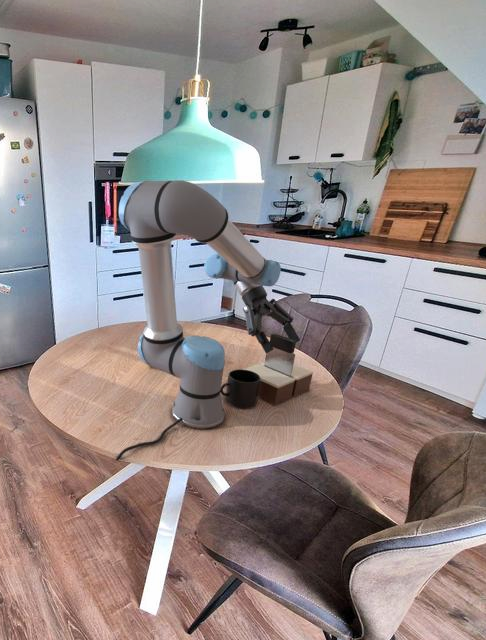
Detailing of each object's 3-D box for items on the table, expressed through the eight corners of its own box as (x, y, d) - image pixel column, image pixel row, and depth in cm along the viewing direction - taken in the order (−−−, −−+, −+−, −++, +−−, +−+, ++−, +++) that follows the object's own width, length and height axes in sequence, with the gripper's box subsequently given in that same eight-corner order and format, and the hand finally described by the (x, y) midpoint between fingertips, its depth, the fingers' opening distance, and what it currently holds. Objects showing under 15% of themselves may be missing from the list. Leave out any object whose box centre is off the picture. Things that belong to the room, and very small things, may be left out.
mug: (213, 395, 126) (215, 370, 123) (247, 392, 128) (251, 368, 124) (224, 410, 118) (228, 384, 114) (261, 407, 119) (266, 381, 116)
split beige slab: (274, 405, 121) (278, 386, 118) (239, 387, 131) (241, 369, 129) (309, 390, 129) (313, 371, 126) (273, 374, 140) (276, 357, 137)
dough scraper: (288, 377, 123) (295, 342, 118) (262, 366, 131) (268, 333, 126) (292, 376, 124) (299, 341, 119) (266, 365, 132) (271, 332, 127)
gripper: (267, 291, 138) (297, 343, 133) (218, 302, 126) (249, 360, 121) (283, 279, 132) (315, 333, 127) (232, 290, 120) (266, 350, 114)
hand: (283, 346), depth 124 cm, fingers open, 13 cm apart
